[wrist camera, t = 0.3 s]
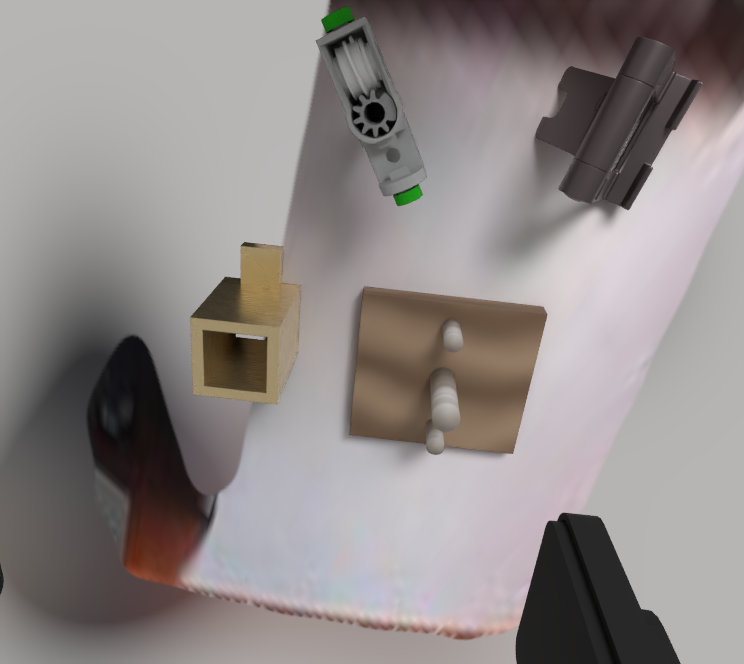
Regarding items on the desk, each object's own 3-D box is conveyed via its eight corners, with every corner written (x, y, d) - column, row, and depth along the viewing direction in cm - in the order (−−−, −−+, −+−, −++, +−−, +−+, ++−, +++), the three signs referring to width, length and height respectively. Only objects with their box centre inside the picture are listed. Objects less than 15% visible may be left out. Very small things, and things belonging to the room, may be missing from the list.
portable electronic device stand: (618, 206, 42) (664, 239, 34) (519, 165, 41) (543, 189, 33) (690, 82, 38) (760, 86, 30) (582, 34, 37) (626, 27, 30)
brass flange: (224, 239, 44) (188, 274, 37) (302, 248, 44) (281, 285, 37) (226, 375, 49) (194, 429, 42) (296, 383, 49) (276, 439, 42)
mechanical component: (391, 180, 42) (385, 213, 33) (331, 34, 38) (306, 25, 29) (429, 164, 41) (434, 193, 32) (372, 13, 37) (360, -2, 28)
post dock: (364, 286, 45) (356, 326, 38) (543, 306, 45) (566, 350, 38) (351, 424, 51) (341, 480, 44) (510, 443, 51) (525, 502, 44)
